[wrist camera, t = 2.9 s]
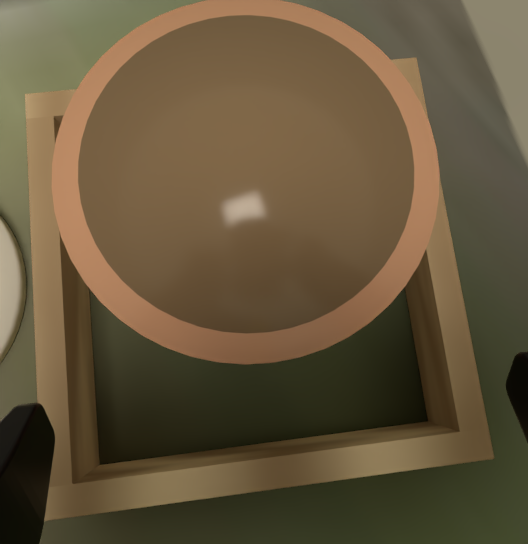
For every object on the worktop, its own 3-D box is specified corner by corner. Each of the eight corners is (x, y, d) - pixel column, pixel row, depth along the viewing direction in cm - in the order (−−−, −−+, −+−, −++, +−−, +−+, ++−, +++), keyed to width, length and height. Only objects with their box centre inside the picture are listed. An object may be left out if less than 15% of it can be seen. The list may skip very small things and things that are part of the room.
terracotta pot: (173, 373, 20) (57, 389, 8) (158, 211, 21) (39, 7, 9) (340, 352, 20) (477, 336, 8) (316, 194, 21) (406, -24, 9)
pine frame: (74, 496, 19) (42, 521, 16) (56, 131, 21) (25, 94, 18) (457, 443, 19) (494, 458, 17) (393, 98, 22) (416, 57, 19)
